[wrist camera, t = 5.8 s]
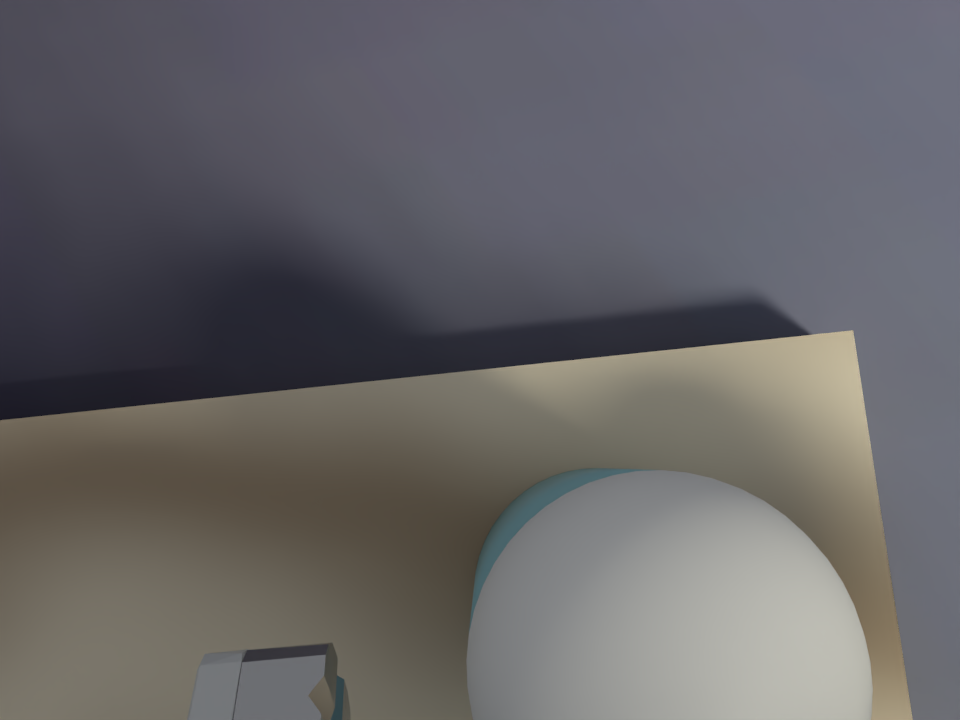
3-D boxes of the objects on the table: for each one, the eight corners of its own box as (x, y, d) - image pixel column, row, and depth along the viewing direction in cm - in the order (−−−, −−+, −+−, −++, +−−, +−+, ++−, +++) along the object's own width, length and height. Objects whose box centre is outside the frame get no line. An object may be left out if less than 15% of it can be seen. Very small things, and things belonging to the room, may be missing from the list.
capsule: (736, 705, 15) (993, 955, 8) (487, 732, 15) (488, 1009, 8) (703, 455, 16) (912, 447, 8) (462, 481, 16) (436, 498, 8)
